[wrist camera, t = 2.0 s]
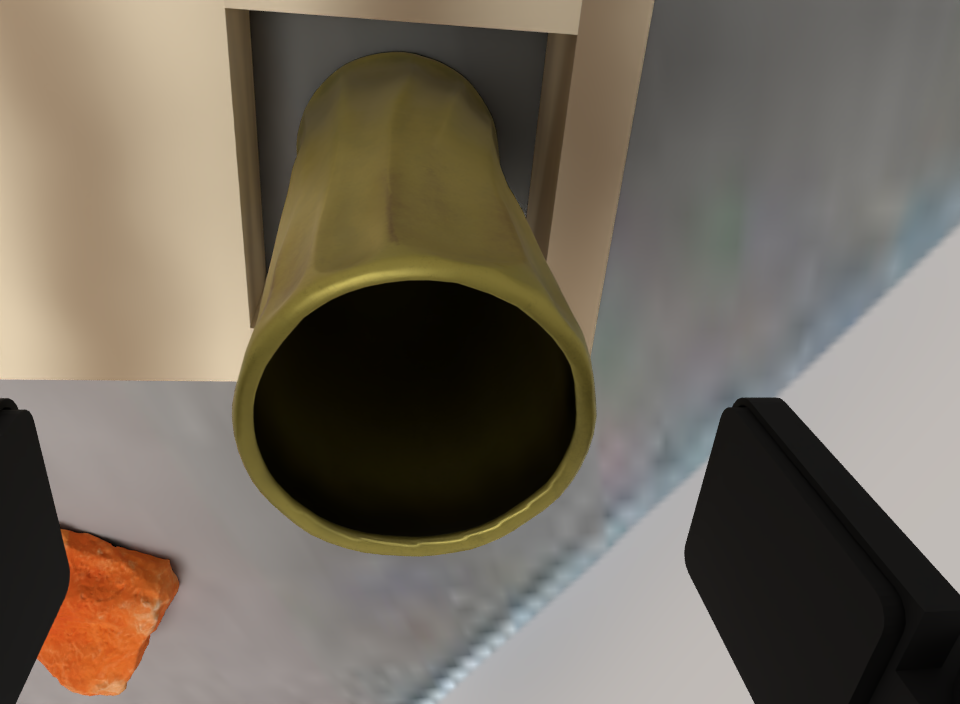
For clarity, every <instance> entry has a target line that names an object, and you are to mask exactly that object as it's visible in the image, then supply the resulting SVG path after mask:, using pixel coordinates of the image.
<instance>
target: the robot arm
mask: <svg viewBox="0 0 960 704" xmlns="http://www.w3.org/2000/svg"><path fill="white" fill-rule="evenodd" d="M684 554H685V564H686V567H687V570H688V573H689V575H690V577H691V579H692V581H693V583H694V585H695V586H696V589H697V590H698V593H699V594H700V597H701V598H702V600H703V602H704V604H705V606H706V608H707V610H708V612H709V614H710V616H711V618H712V620H713V622H714V624H715V626H716V628H717V630H718V632H719V634H720V636H721V638H722V640H723V642H724V644H725V646H726V648H727V650H728V652H729V654H730V656H731V658H732V660H733V661H734V664H735V666H736V668H737V670H738V672H739V674H740V676H741V677H742V680H743V681H744V683H745V685H746V687H747V689H748V691H749V693H750V695H751V697H752V699H753V701H754V703H755V704H960V594H959V593H958V592H957V591H956V590H955V589H954V588H953V587H952V586H951V585H950V583H949V582H948V581H947V580H946V579H945V578H944V577H943V576H942V575H941V573H940V572H939V571H938V570H937V569H936V568H935V567H934V566H933V565H932V564H931V563H930V561H929V560H928V559H927V558H926V557H925V556H924V555H923V554H922V553H921V551H920V550H919V549H918V548H917V547H916V546H915V545H914V544H913V543H912V541H911V540H910V539H909V538H908V537H907V536H906V535H905V534H904V533H903V532H902V530H901V529H900V528H899V527H898V526H897V525H896V524H895V523H894V522H893V521H892V519H891V518H890V517H889V516H888V515H887V514H886V513H885V512H884V511H883V510H882V509H881V507H880V506H879V505H878V504H877V503H876V502H875V501H874V500H873V498H872V497H871V496H870V495H869V494H868V493H867V492H866V491H865V490H864V489H863V487H861V485H860V484H859V483H858V482H857V481H856V480H855V479H854V478H853V476H852V475H851V474H850V473H849V472H848V471H847V470H846V469H845V468H844V466H843V465H842V464H841V463H840V462H839V461H838V460H837V459H836V458H835V457H834V456H833V455H832V453H831V452H830V451H829V450H828V449H827V448H826V447H825V446H824V444H823V443H822V442H821V441H820V440H819V439H818V438H817V437H816V436H815V435H814V433H813V432H812V431H811V430H810V429H809V428H808V427H807V426H806V425H805V423H804V422H803V421H802V420H801V419H800V418H799V417H798V416H797V415H796V414H795V412H794V411H793V410H792V409H791V408H790V407H789V406H788V405H787V404H786V403H785V402H784V401H783V400H782V399H780V398H740V399H737V400H736V402H735V403H734V404H733V407H729V408H726V409H725V410H724V411H723V413H722V415H721V418H720V422H719V425H718V429H717V433H716V436H715V440H714V443H713V447H712V451H711V454H710V458H709V461H708V465H707V469H706V472H705V476H704V479H703V484H702V487H701V491H700V494H699V497H698V501H697V505H696V508H695V512H694V516H693V519H692V523H691V526H690V530H689V533H688V537H687V541H686V544H685V552H684ZM69 581H70V567H69V562H68V558H67V554H66V550H65V546H64V542H63V538H62V533H61V529H60V525H59V521H58V517H57V513H56V509H55V505H54V501H53V497H52V493H51V489H50V484H49V480H48V476H47V472H46V468H45V464H44V460H43V456H42V452H41V448H40V444H39V440H38V435H37V431H36V427H35V423H34V420H33V417H32V415H31V413H30V412H29V411H27V410H18V407H17V405H16V404H15V403H14V401H13V400H11V399H9V398H0V704H16V702H17V700H18V697H19V695H20V693H21V691H22V689H23V687H24V685H25V682H26V680H27V678H28V676H29V674H30V672H31V670H32V667H33V665H34V663H35V661H36V659H37V657H38V655H39V652H40V650H41V648H42V646H43V644H44V642H45V640H46V637H47V635H48V633H49V631H50V629H51V627H52V625H53V623H54V620H55V618H56V616H57V614H58V612H59V610H60V608H61V605H62V603H63V601H64V599H65V597H66V594H67V591H68V587H69Z"/></svg>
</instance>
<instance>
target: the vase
mask: <svg viewBox="0 0 960 704" xmlns="http://www.w3.org/2000/svg"><path fill="white" fill-rule="evenodd" d="M296 146H297V157H296V159H295V162H294V165H293V169H292V173H291V179H290V185H289V189H288V193H287V197H286V201H285V205H284V208H283V212H282V216H281V220H280V224H279V229H278V233H277V237H276V242H275V246H274V250H273V254H272V259H271V263H270V267H269V271H268V275H267V279H266V283H265V287H264V292H263V296H262V300H261V305H260V309H259V314H258V318H257V322H256V326H255V328H254V330H253V333H252V335H251V338H250V340H249V343H248V346H247V348H246V351H245V355H244V358H243V362H242V365H241V369H240V373H239V377H238V380H237V384H236V388H235V393H234V398H233V403H232V422H233V430H234V437H235V440H236V444H237V448H238V452H239V454H240V457H241V459H242V462H243V464H244V467H245V469H246V470H247V472H248V474H249V476H250V478H251V480H252V482H253V483H254V484H255V486H256V487H257V488H258V489H259V491H260V492H261V493H262V494H263V495H264V496H265V497H266V498H267V499H268V501H269V502H270V503H271V504H272V505H273V506H275V507H276V508H277V509H278V510H279V511H280V512H281V513H282V514H284V515H285V516H286V517H287V518H288V519H290V520H291V521H292V522H293V523H295V524H296V525H297V526H299V527H300V528H302V529H303V530H305V531H306V532H308V533H309V534H311V535H313V536H315V537H317V538H320V539H322V540H324V541H326V542H329V543H332V544H335V545H338V546H341V547H344V548H347V549H351V550H356V551H360V552H364V553H372V554H381V555H396V556H432V555H440V554H447V553H454V552H459V551H465V550H470V549H473V548H476V547H479V546H482V545H485V544H487V543H490V542H492V541H495V540H497V539H500V538H501V537H503V536H505V535H507V534H509V533H510V532H512V531H514V530H515V529H517V528H518V527H520V526H521V525H523V524H524V523H526V522H527V521H529V520H530V519H532V518H533V517H535V516H536V515H538V514H539V513H541V512H542V511H544V510H545V509H546V508H547V507H548V506H549V505H551V504H552V503H553V502H554V501H555V500H556V499H558V498H559V497H560V496H561V494H562V493H563V492H564V491H565V490H566V488H567V487H568V486H569V485H570V483H571V482H572V480H573V479H574V477H575V476H576V474H577V472H578V471H579V469H580V467H581V465H582V463H583V461H584V459H585V457H586V455H587V453H588V450H589V447H590V444H591V441H592V438H593V435H594V429H595V423H596V416H597V414H596V397H595V386H594V377H593V371H592V365H591V359H590V354H589V351H588V347H587V344H586V341H585V337H584V335H583V332H582V330H581V328H580V326H579V324H578V322H577V320H576V318H575V317H574V315H573V313H572V311H571V309H570V307H569V305H568V303H567V301H566V299H565V297H564V295H563V293H562V291H561V289H560V287H559V285H558V283H557V281H556V279H555V277H554V275H553V274H552V272H551V270H550V268H549V266H548V264H547V262H546V260H545V258H544V256H543V254H542V252H541V250H540V248H539V245H538V243H537V241H536V239H535V237H534V234H533V232H532V230H531V228H530V226H529V224H528V222H527V220H526V217H525V215H524V213H523V211H522V209H521V207H520V206H519V204H518V202H517V200H516V199H515V197H514V195H513V193H512V192H511V190H510V188H509V187H508V185H507V183H506V180H505V177H504V175H503V172H502V170H501V167H500V158H499V148H498V140H497V134H496V129H495V125H494V121H493V119H492V116H491V114H490V112H489V110H488V108H487V106H486V105H485V103H484V101H483V100H482V98H481V97H480V95H479V94H478V93H477V91H476V90H475V89H474V87H473V86H472V85H471V84H470V83H469V82H468V81H467V80H466V79H465V78H464V77H463V76H462V75H460V74H459V73H458V72H456V71H455V70H453V69H451V68H450V67H448V66H446V65H444V64H442V63H440V62H438V61H435V60H433V59H430V58H426V57H423V56H420V55H416V54H412V53H406V52H387V53H379V54H374V55H369V56H365V57H362V58H359V59H356V60H354V61H352V62H349V63H347V64H345V65H344V66H342V67H341V68H339V69H338V70H337V71H335V72H334V73H333V74H332V75H330V76H329V77H328V78H327V79H326V80H325V81H324V82H323V83H322V85H321V86H320V87H319V88H318V89H317V90H316V92H315V93H314V95H313V96H312V98H311V99H310V101H309V103H308V105H307V106H306V108H305V110H304V113H303V116H302V119H301V123H300V126H299V130H298V135H297V144H296Z"/></svg>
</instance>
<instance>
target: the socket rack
mask: <svg viewBox="0 0 960 704" xmlns="http://www.w3.org/2000/svg"><path fill="white" fill-rule="evenodd" d="M653 6H654V0H0V379H22V380H140V381H237V380H238V377H239V373H240V369H241V365H242V362H243V358H244V355H245V351H246V348H247V346H248V343H249V340H250V338H251V335H252V333H253V330H254V328H255V326H256V322H257V318H258V314H259V309H260V305H261V300H262V296H263V292H264V287H265V283H266V279H267V278H266V263H265V248H264V232H263V217H262V202H261V186H260V171H259V155H258V140H257V125H256V109H255V94H254V79H253V63H252V48H251V32H250V17H249V10H259V11H272V12H285V13H298V14H311V15H324V16H337V17H350V18H363V19H377V20H390V21H403V22H416V23H429V24H442V25H455V26H468V27H481V28H494V29H507V30H520V31H533V32H546V33H548V39H547V47H546V56H545V64H544V73H543V81H542V90H541V98H540V107H539V115H538V123H537V132H536V140H535V149H534V157H533V166H532V174H531V183H530V191H529V200H528V208H527V217H526V220H527V222H528V224H529V226H530V228H531V230H532V232H533V234H534V237H535V239H536V241H537V243H538V245H539V248H540V250H541V252H542V254H543V256H544V258H545V260H546V262H547V264H548V266H549V268H550V270H551V272H552V274H553V275H554V277H555V279H556V281H557V283H558V285H559V287H560V289H561V291H562V293H563V295H564V297H565V299H566V301H567V303H568V305H569V307H570V309H571V311H572V313H573V315H574V317H575V318H576V320H577V322H578V324H579V326H580V328H581V330H582V332H583V335H584V337H585V341H586V344H587V347H588V351H589V354H590V356H591V350H592V345H593V339H594V334H595V328H596V322H597V317H598V311H599V306H600V300H601V295H602V289H603V284H604V278H605V272H606V267H607V261H608V256H609V250H610V245H611V239H612V234H613V228H614V223H615V217H616V211H617V206H618V200H619V195H620V189H621V184H622V178H623V173H624V167H625V161H626V156H627V150H628V145H629V139H630V134H631V128H632V123H633V117H634V111H635V106H636V100H637V95H638V89H639V84H640V78H641V73H642V67H643V61H644V56H645V50H646V45H647V39H648V34H649V28H650V23H651V17H652V11H653Z"/></svg>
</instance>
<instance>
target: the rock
mask: <svg viewBox="0 0 960 704" xmlns="http://www.w3.org/2000/svg"><path fill="white" fill-rule="evenodd" d="M61 533H62V538H63V542H64V546H65V550H66V554H67V558H68V562H69V567H70V581H69V587H68V591H67V594H66V597H65V599H64V601H63V603H62V605H61V608H60V610H59V612H58V614H57V616H56V618H55V620H54V623H53V625H52V627H51V629H50V631H49V633H48V635H47V637H46V640H45V642H44V644H43V646H42V648H41V650H40V652H39V655H38V657H37V659H38V660H39V661H40V662H41V663H42V664H43V665H44V666H45V667H46V668H47V669H48V670H49V672H50V673H51V674H52V675H53V677H56V678H57V679H58V680H59V682H60V684H61V685H62V686H64V687H65V688H67V689H68V690H70V691H72V692H75V693H79V694H82V695H89V696H93V695H99V694H101V695H106V696H108V695H112V696H115V695H119V694H120V693H121V692H123V691H124V690H125V689H126V686H127V681H128V680H129V679H130V678H131V676H132V674H133V672H134V671H135V669H136V668H137V667H138V665H139V663H140V661H141V660H142V656H143V654H144V651H145V649H146V648H147V646H148V644H149V639H150V634H151V633H152V632H154V631H155V630H156V629H157V627H158V625H159V623H160V622H161V619H162V617H163V616H164V613H165V610H166V609H167V608H168V606H169V605H170V603H171V602H172V600H173V598H174V596H175V595H176V593H177V591H178V588H179V581H178V578H177V576H176V575H175V573H174V572H173V571H172V568H171V565H170V560H169V559H162V558H157V557H154V556H152V555H148V554H144V553H141V552H138V551H135V550H128V549H125V548H122V547H118V546H117V547H114V546H112V544H110V543H108V542H106V541H104V540H101V539H100V538H98V537H95V536H93V535H90V534H89V533H75V532H73V531H69V530H66V529H61Z"/></svg>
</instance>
